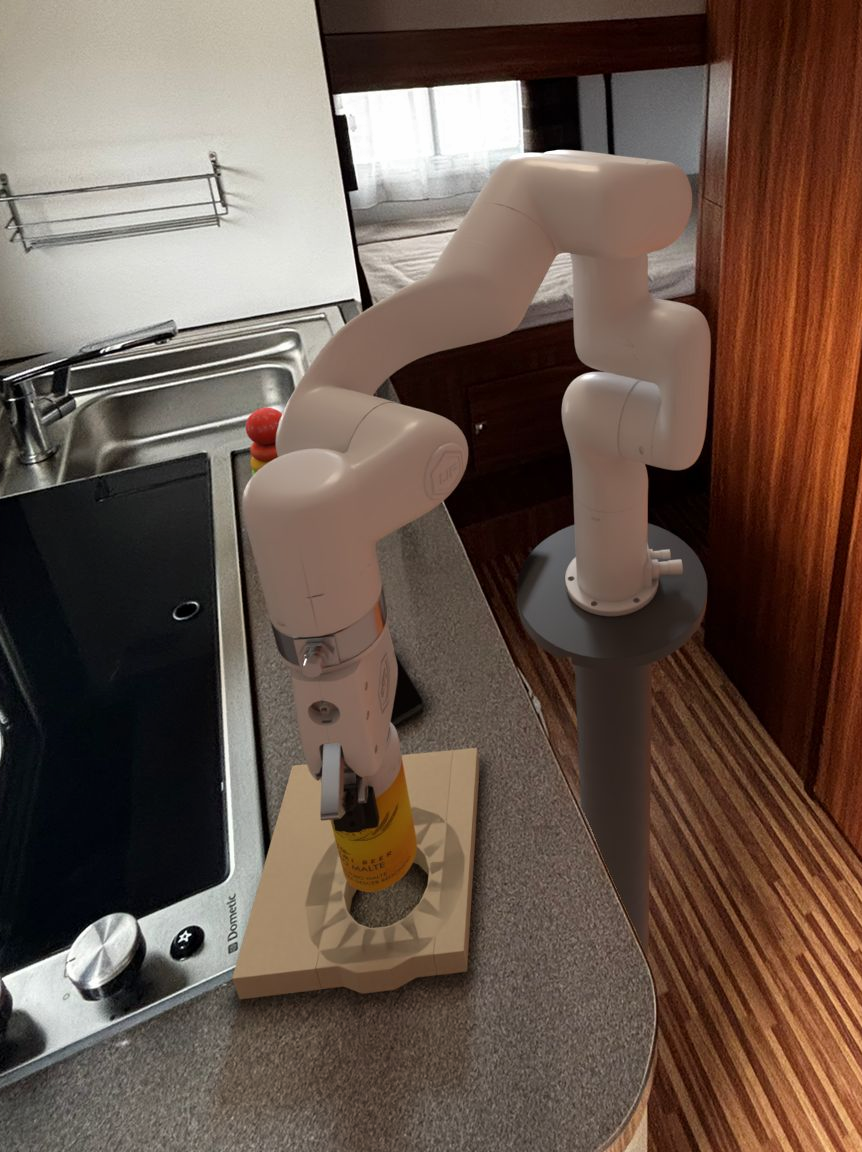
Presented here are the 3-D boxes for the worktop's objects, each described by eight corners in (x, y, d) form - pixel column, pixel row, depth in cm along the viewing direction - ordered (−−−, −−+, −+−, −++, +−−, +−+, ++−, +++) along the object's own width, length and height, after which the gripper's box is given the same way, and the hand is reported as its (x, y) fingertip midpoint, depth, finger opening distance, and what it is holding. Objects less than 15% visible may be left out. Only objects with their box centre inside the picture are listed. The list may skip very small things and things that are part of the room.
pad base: (479, 767, 83) (477, 747, 82) (466, 981, 66) (463, 960, 65) (297, 785, 81) (292, 765, 80) (236, 1009, 64) (228, 988, 63)
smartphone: (427, 709, 89) (377, 623, 100) (427, 704, 89) (376, 618, 100) (361, 746, 85) (316, 652, 96) (360, 740, 85) (315, 647, 96)
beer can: (329, 886, 67) (297, 764, 61) (369, 815, 72) (343, 697, 66) (394, 907, 66) (369, 785, 59) (430, 833, 71) (410, 714, 64)
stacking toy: (312, 536, 115) (288, 424, 107) (251, 546, 113) (222, 432, 105) (317, 501, 122) (295, 393, 114) (260, 510, 120) (233, 401, 112)
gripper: (362, 718, 50) (398, 894, 57) (402, 529, 65) (426, 687, 73) (234, 729, 49) (288, 906, 57) (306, 536, 65) (340, 695, 72)
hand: (366, 781), depth 65 cm, fingers closed on beer can, 6 cm apart
